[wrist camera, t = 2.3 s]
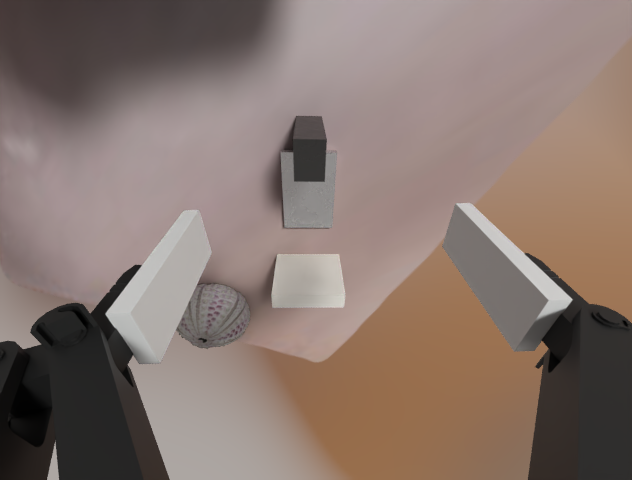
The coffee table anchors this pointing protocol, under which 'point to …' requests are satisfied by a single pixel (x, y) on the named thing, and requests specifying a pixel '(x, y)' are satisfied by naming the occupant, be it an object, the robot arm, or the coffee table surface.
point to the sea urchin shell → (214, 316)
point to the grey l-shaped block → (308, 176)
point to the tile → (308, 281)
